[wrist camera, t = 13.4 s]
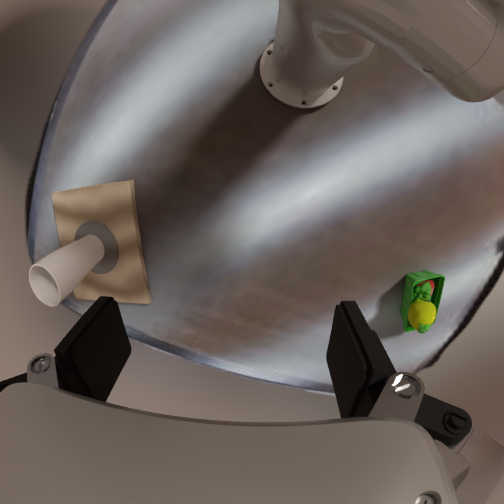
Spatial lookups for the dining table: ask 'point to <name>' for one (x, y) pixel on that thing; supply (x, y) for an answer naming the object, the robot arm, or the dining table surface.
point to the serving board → (106, 239)
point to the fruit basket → (421, 300)
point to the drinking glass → (65, 269)
